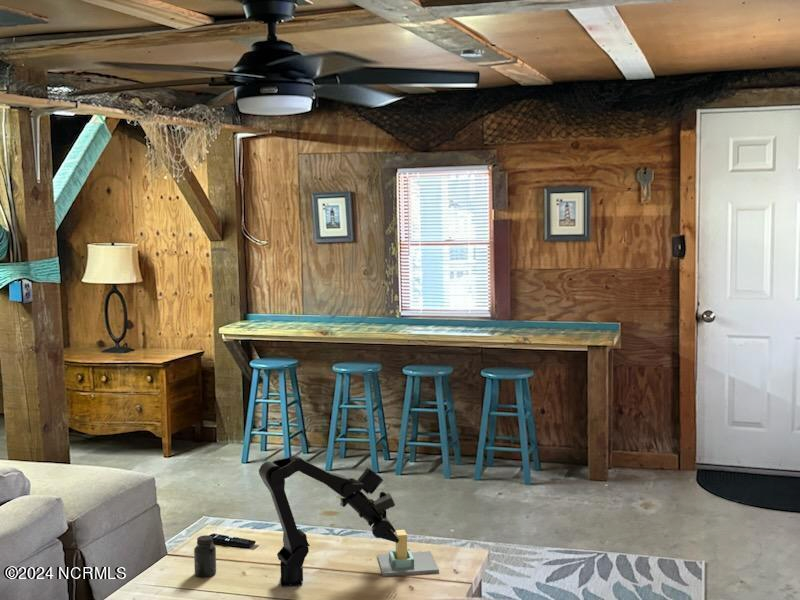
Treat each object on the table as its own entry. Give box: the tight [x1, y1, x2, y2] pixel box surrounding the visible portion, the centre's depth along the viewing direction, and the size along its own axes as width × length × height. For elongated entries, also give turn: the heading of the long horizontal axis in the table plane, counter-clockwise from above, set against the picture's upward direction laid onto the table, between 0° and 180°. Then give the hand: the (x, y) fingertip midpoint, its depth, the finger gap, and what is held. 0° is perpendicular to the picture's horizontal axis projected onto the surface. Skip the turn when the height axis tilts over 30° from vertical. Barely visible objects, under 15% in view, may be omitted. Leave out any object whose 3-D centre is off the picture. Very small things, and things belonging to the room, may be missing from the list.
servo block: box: [394, 529, 408, 559], centre depth 292 cm, size 3×5×10 cm, turn 9°
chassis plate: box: [376, 548, 440, 577], centre depth 293 cm, size 18×16×4 cm
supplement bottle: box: [193, 534, 217, 579], centre depth 286 cm, size 7×7×12 cm
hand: (396, 536), depth 291 cm, fingers open, 9 cm apart
